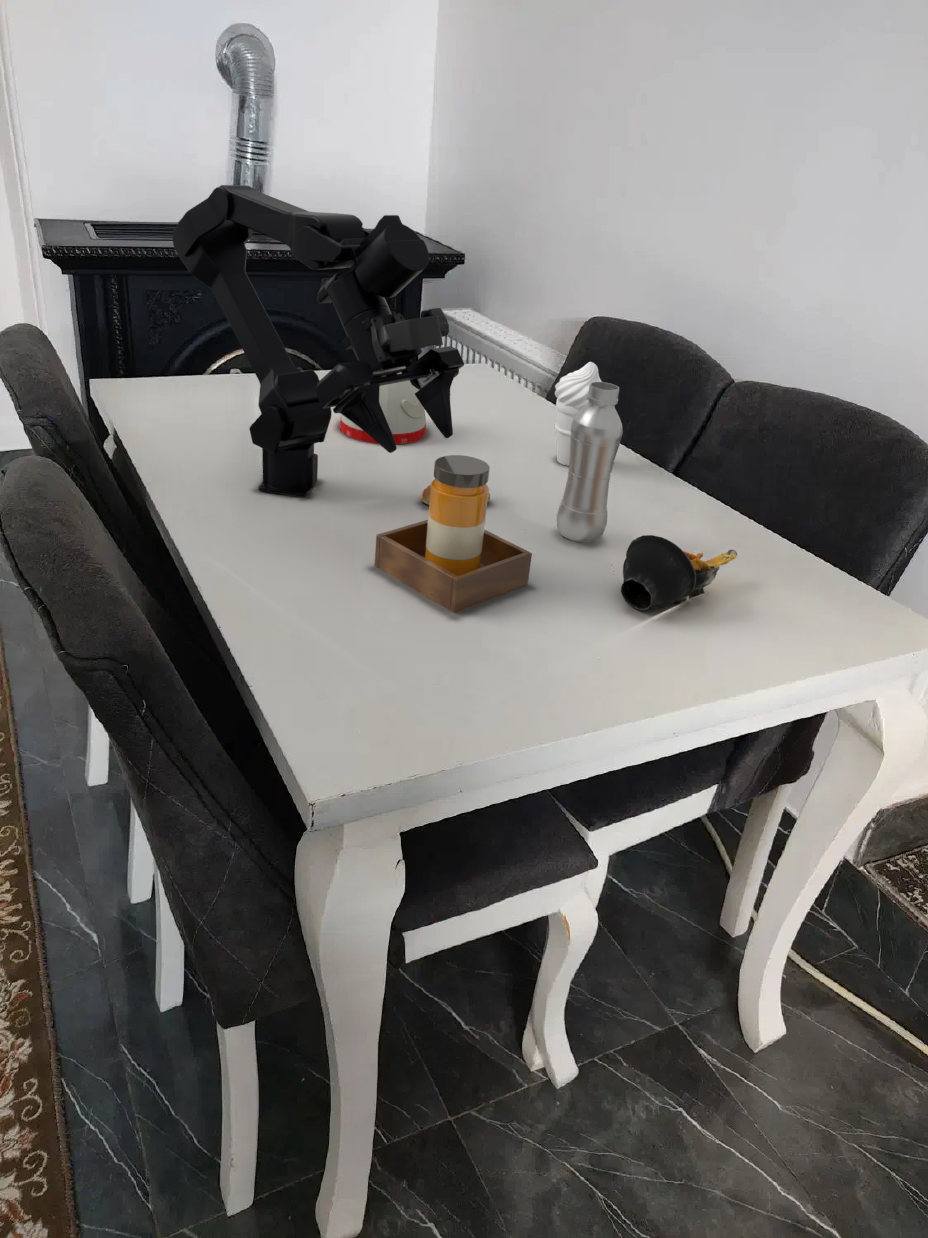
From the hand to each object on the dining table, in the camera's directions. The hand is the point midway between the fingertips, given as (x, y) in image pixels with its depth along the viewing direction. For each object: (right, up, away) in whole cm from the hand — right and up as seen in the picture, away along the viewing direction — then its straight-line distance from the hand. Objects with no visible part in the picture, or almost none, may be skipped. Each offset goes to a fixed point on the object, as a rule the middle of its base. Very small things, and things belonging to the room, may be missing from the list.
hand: (422, 443), depth 106 cm
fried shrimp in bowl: (+30, -18, +3) cm, 35 cm away
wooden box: (+3, -15, +1) cm, 16 cm away
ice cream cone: (+22, +5, +40) cm, 46 cm away
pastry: (+4, -4, +21) cm, 22 cm away
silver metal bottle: (+20, -10, +15) cm, 27 cm away
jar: (+3, -15, +1) cm, 15 cm away
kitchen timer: (-9, +11, +45) cm, 47 cm away
